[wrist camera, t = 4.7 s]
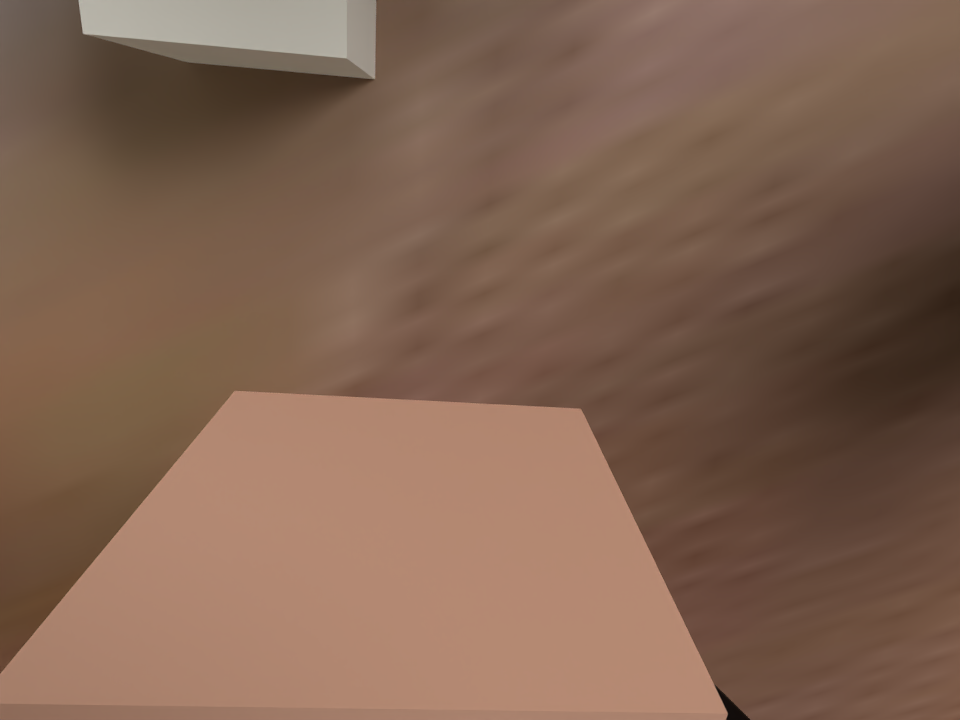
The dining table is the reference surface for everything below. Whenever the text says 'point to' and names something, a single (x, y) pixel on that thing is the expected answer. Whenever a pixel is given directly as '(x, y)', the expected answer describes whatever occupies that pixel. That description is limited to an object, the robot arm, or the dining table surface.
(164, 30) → the offwhite block
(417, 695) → the terracotta block
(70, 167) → the dining table surface
